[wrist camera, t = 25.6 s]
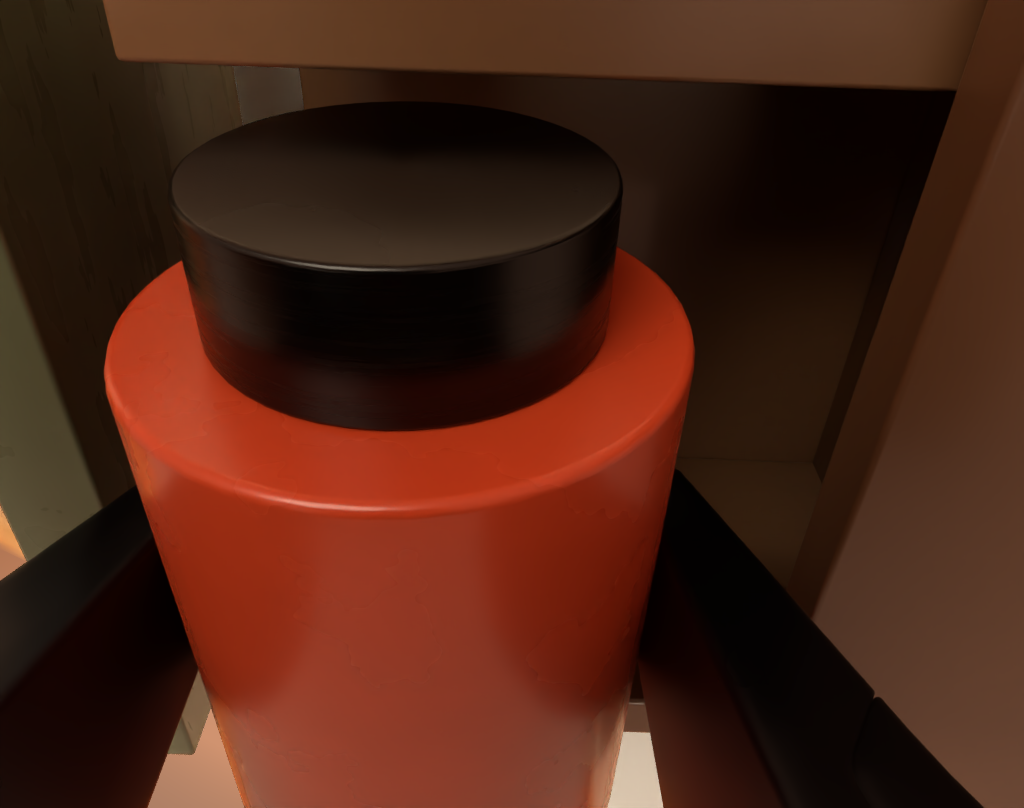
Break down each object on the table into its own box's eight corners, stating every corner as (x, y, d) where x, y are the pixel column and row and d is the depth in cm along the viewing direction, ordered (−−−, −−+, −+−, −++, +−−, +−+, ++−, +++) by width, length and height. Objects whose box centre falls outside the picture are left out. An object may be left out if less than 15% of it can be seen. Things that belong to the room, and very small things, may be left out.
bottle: (621, 626, 12) (600, 987, 8) (320, 584, 12) (176, 908, 9) (710, 97, 7) (754, 380, 4) (233, 62, 8) (-140, 283, 4)
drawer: (21, 452, 18) (-210, 741, 12) (-258, -198, 11) (-1054, -204, 5) (818, 482, 18) (945, 784, 12) (1031, -151, 11) (1531, -110, 5)
